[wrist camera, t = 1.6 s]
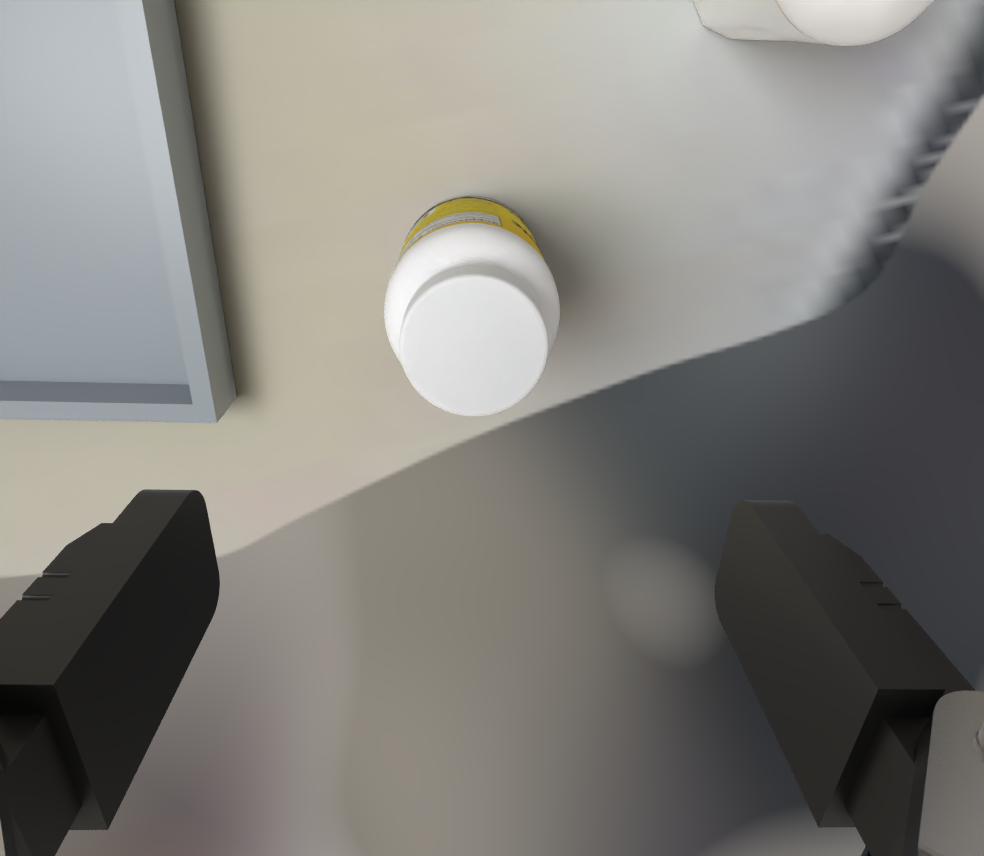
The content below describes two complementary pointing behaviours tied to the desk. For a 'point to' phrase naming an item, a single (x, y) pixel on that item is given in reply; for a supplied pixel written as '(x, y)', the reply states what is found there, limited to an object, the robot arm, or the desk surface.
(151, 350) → the tray
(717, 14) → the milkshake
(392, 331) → the supplement bottle
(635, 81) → the desk surface
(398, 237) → the desk surface
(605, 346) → the desk surface
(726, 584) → the robot arm
